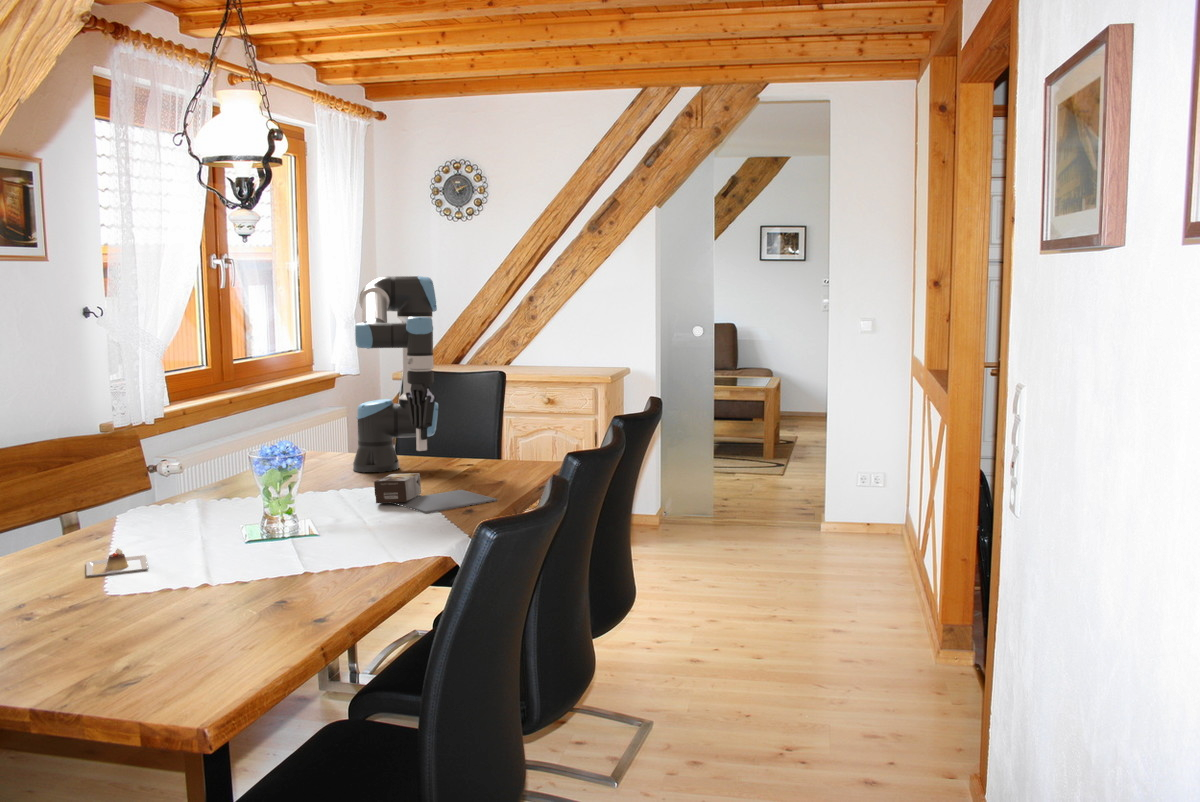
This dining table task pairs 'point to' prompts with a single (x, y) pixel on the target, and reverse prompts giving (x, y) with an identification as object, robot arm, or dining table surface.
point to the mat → (446, 501)
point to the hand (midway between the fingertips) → (421, 450)
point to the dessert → (116, 563)
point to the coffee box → (397, 488)
